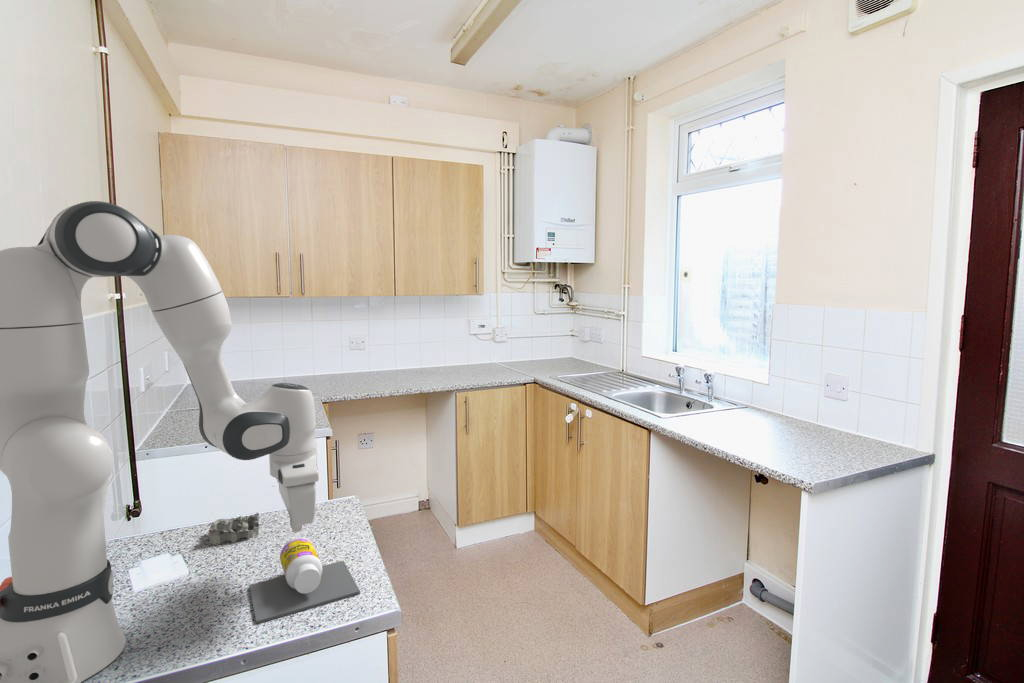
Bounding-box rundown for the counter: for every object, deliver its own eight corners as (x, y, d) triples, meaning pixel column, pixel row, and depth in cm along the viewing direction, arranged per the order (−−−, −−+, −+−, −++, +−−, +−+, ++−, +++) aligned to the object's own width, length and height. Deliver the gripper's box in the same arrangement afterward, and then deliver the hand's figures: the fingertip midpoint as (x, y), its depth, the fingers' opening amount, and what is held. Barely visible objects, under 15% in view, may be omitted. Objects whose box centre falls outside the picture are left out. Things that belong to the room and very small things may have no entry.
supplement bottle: (309, 530, 110) (322, 557, 99) (316, 558, 111) (330, 588, 100) (275, 544, 106) (285, 574, 95) (283, 573, 108) (294, 605, 97)
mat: (256, 624, 91) (256, 621, 91) (249, 587, 102) (249, 584, 102) (359, 593, 101) (359, 591, 101) (343, 562, 112) (343, 560, 112)
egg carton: (206, 547, 118) (205, 530, 118) (212, 533, 125) (210, 516, 125) (259, 539, 122) (258, 522, 122) (261, 525, 129) (260, 509, 129)
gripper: (269, 451, 112) (272, 513, 114) (284, 482, 95) (287, 554, 96) (301, 447, 115) (303, 507, 117) (320, 475, 98) (322, 546, 99)
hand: (296, 529), depth 106 cm, fingers closed
